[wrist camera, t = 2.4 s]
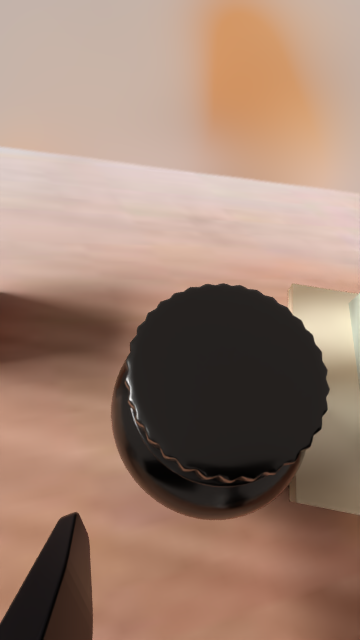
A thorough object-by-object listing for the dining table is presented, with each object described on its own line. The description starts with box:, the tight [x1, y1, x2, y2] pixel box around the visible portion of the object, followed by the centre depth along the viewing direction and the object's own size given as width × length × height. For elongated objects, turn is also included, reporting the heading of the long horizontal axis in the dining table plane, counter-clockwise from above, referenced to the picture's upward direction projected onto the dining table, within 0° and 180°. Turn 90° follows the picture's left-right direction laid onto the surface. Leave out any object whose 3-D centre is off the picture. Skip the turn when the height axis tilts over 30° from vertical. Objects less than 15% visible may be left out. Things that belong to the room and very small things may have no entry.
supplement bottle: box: [111, 283, 330, 520], centre depth 12 cm, size 7×7×12 cm
